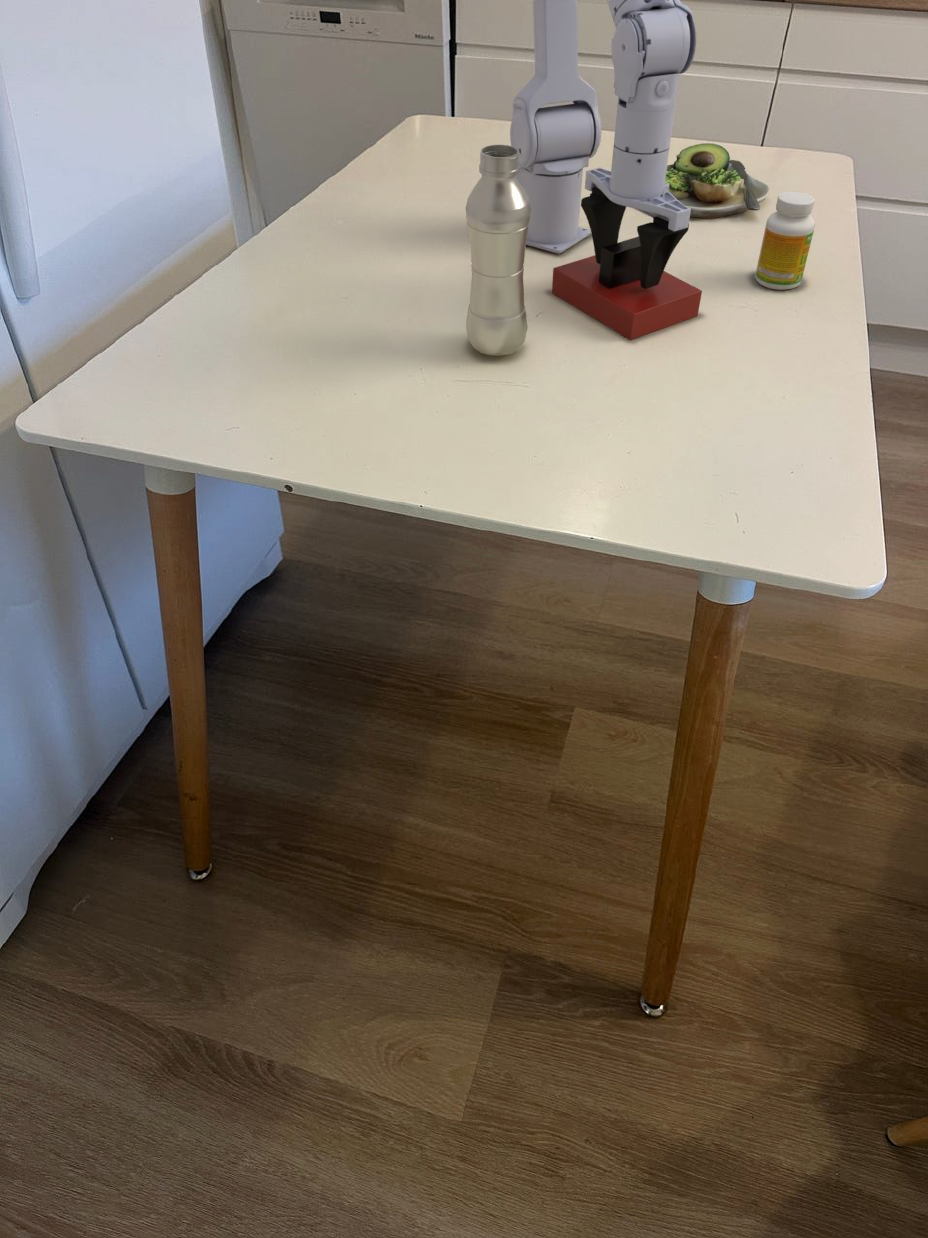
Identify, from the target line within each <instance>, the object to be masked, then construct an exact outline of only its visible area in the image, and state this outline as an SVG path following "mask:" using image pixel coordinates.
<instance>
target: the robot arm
mask: <svg viewBox="0 0 928 1238" xmlns="http://www.w3.org/2000/svg"><path fill="white" fill-rule="evenodd" d="M606 1H607V2H606V3H607V5H608V8H609V12H610V14H611V18H612V22H613V24H614V27H615V31H614V34H613V38H611V45H610V46H611V47H610V48H611V60H612V61H611V62H612V66H613V71H614V72H613V73H614V78H613V88H614V95H615V96H617V104H616V105H617V106H616V116H615V125H614V126H615V127H614V137H613V146H612V149H613V150H612V159H611V168H610V170H607V169H604V168H603V167H596V168H593V169H589V170H586V171H585V182H584V189H585V190H587V191H589V192H590V194H589V196H585V197H583V198H581V197H582V188H583V187H582V186H583V185H582V184H583V174H584V169H585V168H588V167H589V164H590V162H589V161H590V159H592V158H594V156H595V155H596V154H597V152H598V149H599V147H600V145H601V142H602V141H601V140H602V133H603V132H602V131H603V130H602V121H601V116H600V113H599V107H598V106H599V105H598V96H597V91H596V89H595V88H593V86H592V85H591V84H590V83H588V82H587V81H586V80H584V79H583V78H582V77H581V76H580V75H579V48H578V47H579V46H578V45H579V44H578V43H579V42H578V39H579V38H578V37H579V36H578V35H579V34H578V33H579V32H578V31H579V30H578V29H579V27H578V26H579V25H578V23H579V21H578V0H532V16H533V17H532V19H533V20H532V21H533V46H534V48H533V51H534V75H533V76H532V78H530V80H529V81H528V82H527V83H526V84H525V85H524V86H523V87H522V88H521V89H520V90H519V91H518V92H517V93H516V94H515V96H513V100H512V101H513V102H512V118H511V123H510V130H509V140H510V146H512V147H515V148H517V149H518V150H519V167H520V168H519V173H518V174H517V175H516V178H517V179H518V181H519V182H520V184H521V185H522V187H523V188H524V190H525V192H526V194H527V196H528V198H529V202H530V206H531V218H530V224H529V229H528V235H527V241H526V246H529V247H533V248H537V249H540V250H544V251H547V252H551V253H555V254H562V253H564V252H565V251H567V250H568V249H570V248H571V247H572V246H574V245H576V244H578V243H579V242H580V241H582V240H584V239H586V238H587V237H589V236H591V237H592V244H593V249H594V255H595V257H596V262H597V263H598V264H600V263H601V252H602V247H605V246H609V245H612V244H615V243H619V236H620V235H619V234H620V229H621V225H622V222H623V218H624V215H625V212H626V209H627V208H631V209H634V210H635V211H637V212H638V211H639V212H640V213H642V214H644V215H646V216H648V217H650V218H652V219H653V220H652V222H646V223H643V224H640V225H637V227H636V232H637V235H638V236H639V239H640V245H641V258H642V259H641V273H640V283H641V287H642V288H644V289H647V288H650V287H653V286H656V285H658V284H659V281H660V279H661V276H662V274H663V271H665V269H666V266H667V264H668V262H669V260H670V258H671V256H672V254H673V253H674V250H675V249H676V247H677V246H678V244H679V242H680V241H681V240H682V239H683V238H684V237H685V235H686V234H687V233H688V231H689V227H690V218H691V216H690V212H691V209H690V208H688V207H686V206H685V205H683V204H682V203H681V202H679V201H678V200H677V199H676V198H675V197H674V196H673V195H672V194H671V193H670V192H669V191H668V190H669V183H667V182H665V178H666V170H667V165H668V162H669V155H670V148H671V141H672V134H673V133H672V132H673V128H674V127H673V126H674V119H675V111H676V110H675V109H676V104H677V96H678V89H679V81H680V75H683V74H684V73H686V72H687V71H688V70H689V69H690V67H691V65H692V64H693V61H694V58H695V55H696V51H697V27H696V22H695V19H694V18H695V17H694V13H693V11H692V10H691V8H690V7H688V5H687V4H683V3H682V2H681V0H606ZM568 102H572V103H568ZM560 103H566V104H561V105H560ZM567 103H568V104H567ZM552 104H559V105H552ZM545 105H552V106H545ZM544 106H545V107H544ZM581 208H582V211H583V212H584V215H585V218H586V219H587V222H588V226H589V228H586V227H582V226H580V225H579V223H580V211H581Z"/></svg>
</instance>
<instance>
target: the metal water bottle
mask: <svg viewBox="0 0 928 1238" xmlns="http://www.w3.org/2000/svg"><path fill="white" fill-rule="evenodd" d="M479 153H480V155H479V156H480V157H479V165H478V166H479V167H478V172H479V173H480V174H481V177H480V178H479V180H478V181H477V183H475V185H474V187H473V188H472V190H471V191H470V193H469V195H468V197H467V201H466V203H465V219H466V226H467V234H468V239H469V247H470V262H471V279H470V280H471V281H470V294H469V305H468V308H467V314H466V321H465V329H466V336H467V339H468V342H469V343H470V344H471V346H472V347H473V348H474V350H476V351H477V352H479V353H481V354H484V355H487V356H494V357H495V356H497V357H498V356H501V357H502V356H506V355H507V356H508V355H511V354H513V353H516V352H517V351H518V350H519V349H520V348H521V347H522V345H523V344H524V343H525V341H526V337H527V332H528V327H529V326H528V316H527V309H526V305H525V289H524V287H525V286H524V268H525V265H524V264H525V258H526V247H527V245H526V241H527V235H528V229H529V224H530V218H531V206H530V202H529V198H528V196H527V194H526V192H525V190H524V188H523V187H522V185H521V184H520V182H519V181H518V179H517V178H516V175H517V174H518V173H519V168H520V167H519V150H518V149H517V148H515V147H512V146H511V145H509V144H490V145H486V146H484V147H482V148H481V149H480V152H479Z"/></svg>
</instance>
